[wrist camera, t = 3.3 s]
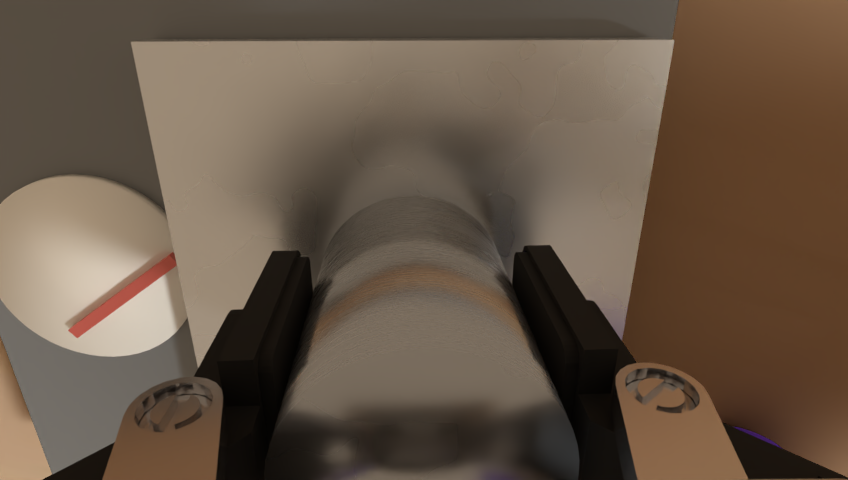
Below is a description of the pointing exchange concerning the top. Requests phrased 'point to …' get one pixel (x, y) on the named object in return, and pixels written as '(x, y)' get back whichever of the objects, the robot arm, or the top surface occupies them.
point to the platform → (400, 149)
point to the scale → (156, 178)
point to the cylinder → (418, 361)
